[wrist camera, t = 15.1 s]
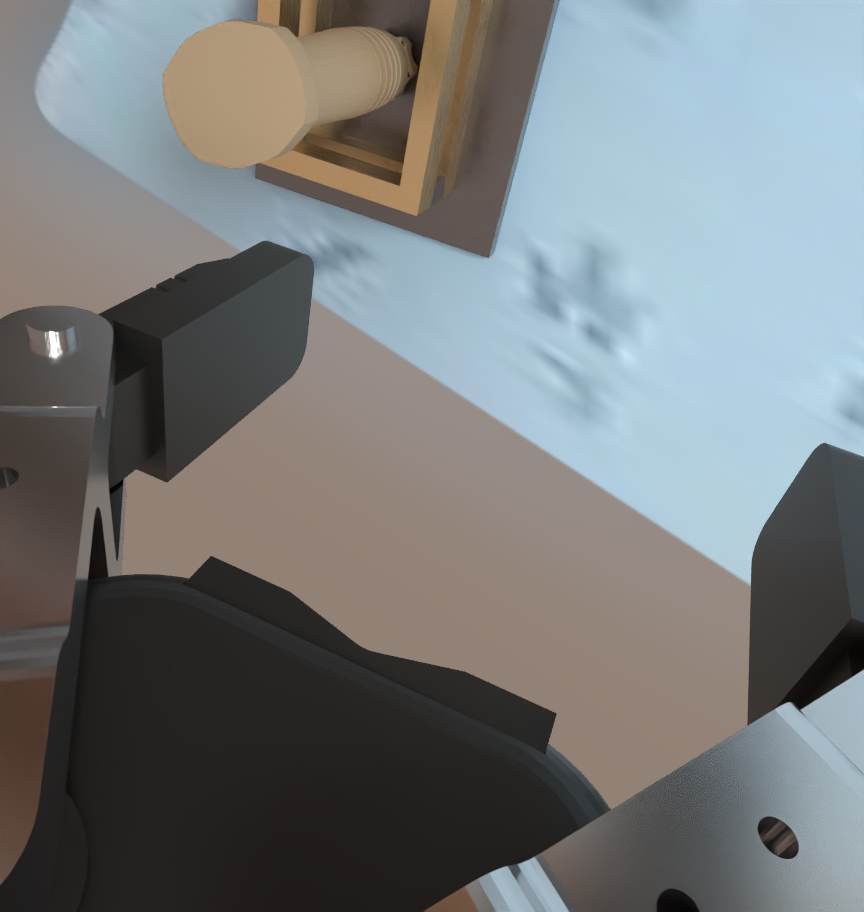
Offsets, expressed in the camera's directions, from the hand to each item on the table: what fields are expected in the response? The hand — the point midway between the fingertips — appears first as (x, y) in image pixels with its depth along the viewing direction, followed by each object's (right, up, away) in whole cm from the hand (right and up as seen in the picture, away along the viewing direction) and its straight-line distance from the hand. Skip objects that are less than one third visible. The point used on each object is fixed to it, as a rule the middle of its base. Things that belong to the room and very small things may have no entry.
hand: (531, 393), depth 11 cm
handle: (-4, +21, +28) cm, 35 cm away
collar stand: (-3, +21, +29) cm, 36 cm away
